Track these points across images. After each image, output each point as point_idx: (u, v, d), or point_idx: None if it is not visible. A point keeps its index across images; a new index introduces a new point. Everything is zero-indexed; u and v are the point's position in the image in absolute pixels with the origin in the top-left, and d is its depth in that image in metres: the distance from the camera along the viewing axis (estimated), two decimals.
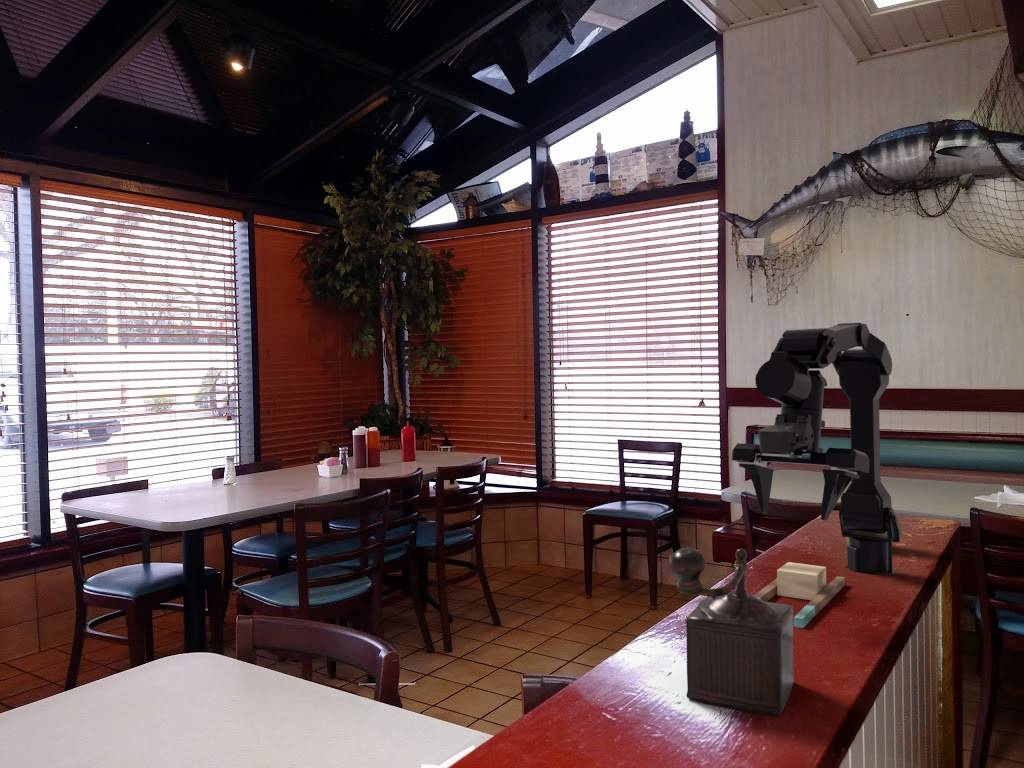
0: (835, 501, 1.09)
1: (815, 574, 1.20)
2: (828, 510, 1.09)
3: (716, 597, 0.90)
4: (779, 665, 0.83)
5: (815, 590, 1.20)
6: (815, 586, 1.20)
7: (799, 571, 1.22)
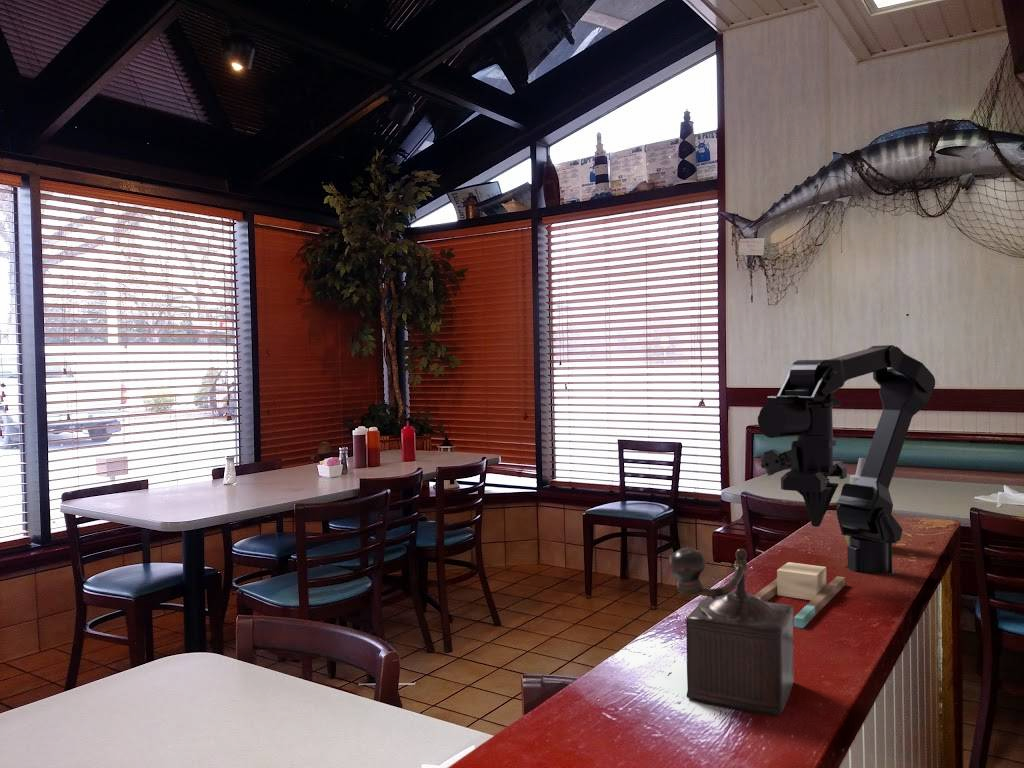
0: (819, 511, 1.29)
1: (815, 574, 1.20)
2: (813, 518, 1.30)
3: (716, 597, 0.90)
4: (779, 665, 0.83)
5: (815, 590, 1.20)
6: (815, 586, 1.20)
7: (799, 571, 1.22)
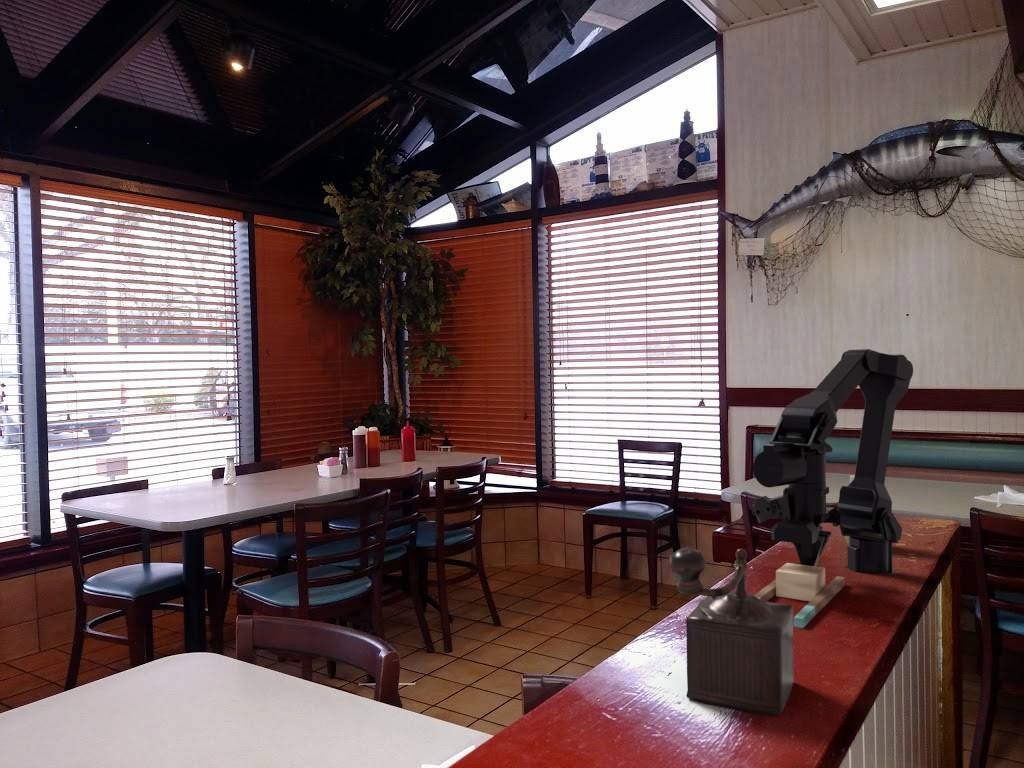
0: (811, 560, 1.25)
1: (814, 575, 1.20)
2: None
3: (716, 597, 0.90)
4: (779, 665, 0.83)
5: (814, 591, 1.19)
6: (814, 587, 1.19)
7: (798, 572, 1.22)
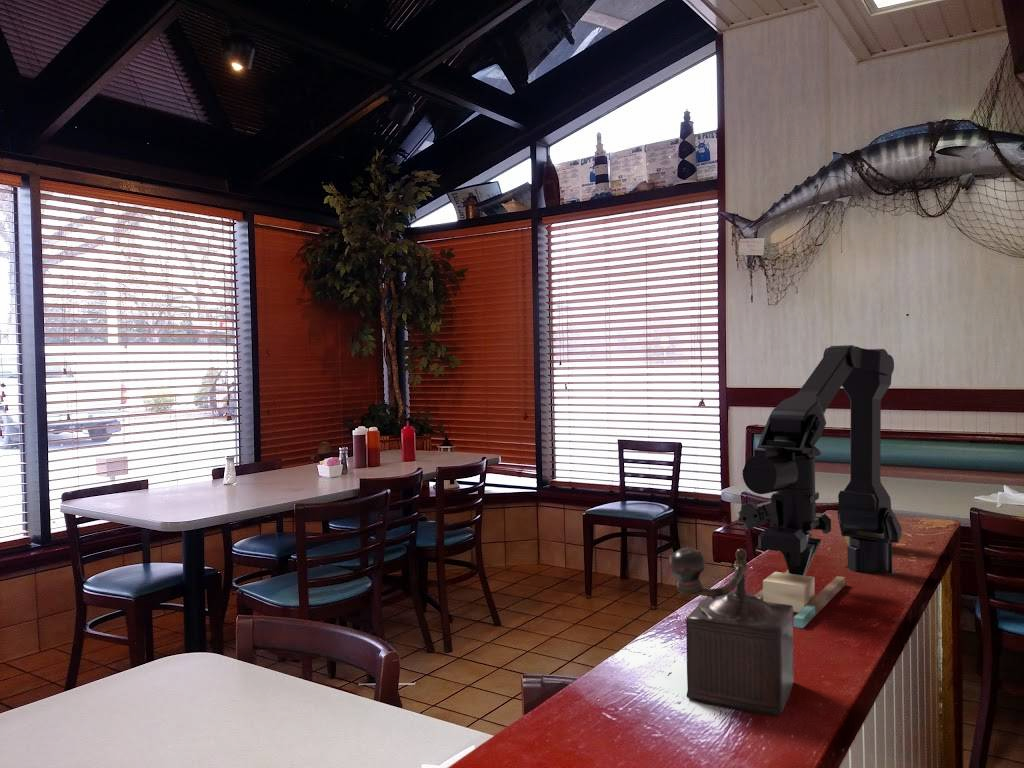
0: (800, 569, 1.20)
1: (802, 585, 1.15)
2: None
3: (716, 597, 0.90)
4: (779, 665, 0.83)
5: (802, 602, 1.14)
6: (802, 597, 1.14)
7: (786, 581, 1.16)
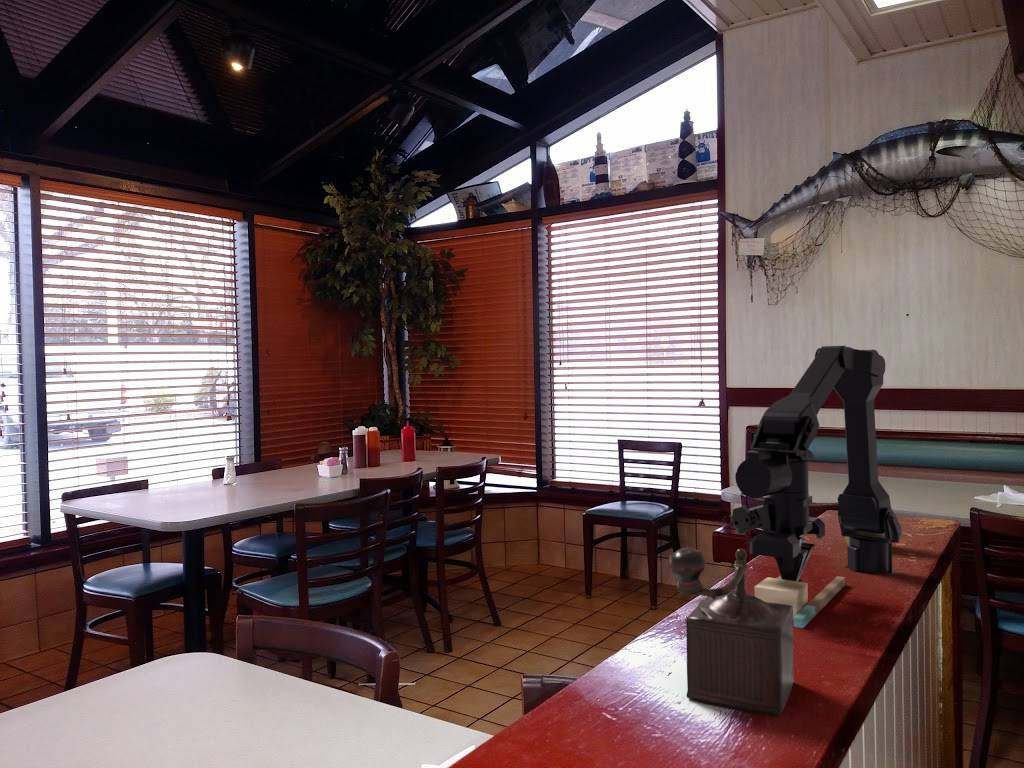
0: (793, 575, 1.17)
1: (795, 591, 1.11)
2: None
3: (716, 597, 0.90)
4: (779, 665, 0.83)
5: (795, 609, 1.11)
6: (795, 604, 1.11)
7: (778, 588, 1.13)
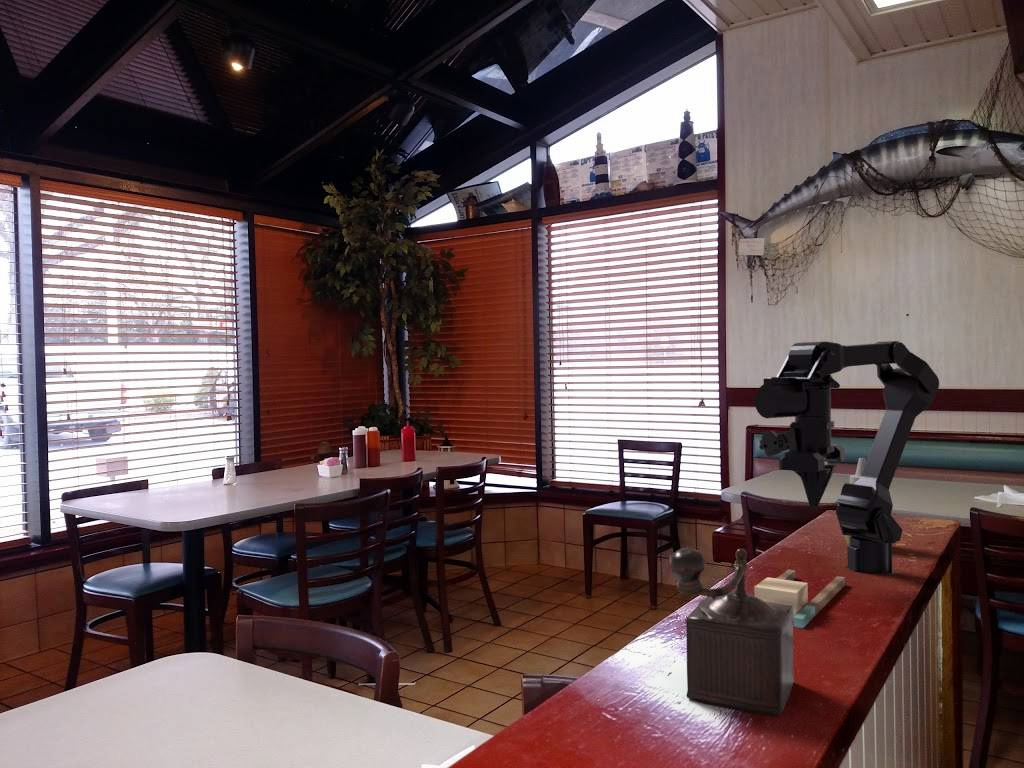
0: (817, 492, 1.30)
1: (795, 591, 1.11)
2: (811, 499, 1.31)
3: (716, 597, 0.90)
4: (779, 665, 0.83)
5: (795, 609, 1.11)
6: (795, 604, 1.11)
7: (778, 588, 1.13)
